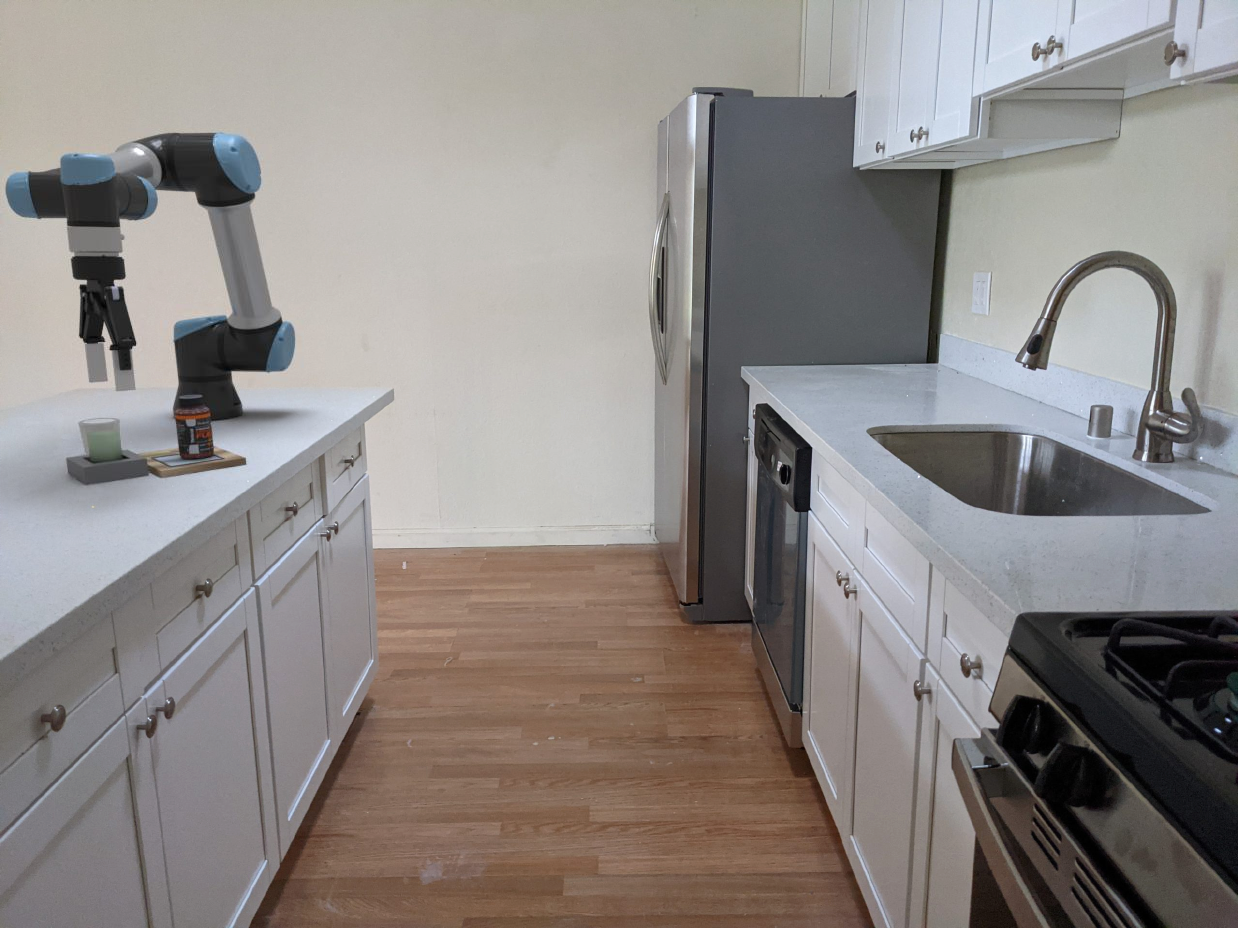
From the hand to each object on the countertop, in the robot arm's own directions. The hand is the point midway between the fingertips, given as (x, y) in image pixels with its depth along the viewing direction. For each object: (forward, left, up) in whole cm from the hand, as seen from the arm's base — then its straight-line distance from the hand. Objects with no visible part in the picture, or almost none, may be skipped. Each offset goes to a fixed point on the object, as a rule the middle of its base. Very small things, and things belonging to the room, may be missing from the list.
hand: (111, 386), depth 153 cm
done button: (-8, 0, -14) cm, 16 cm away
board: (-8, +14, -17) cm, 23 cm away
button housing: (-8, 0, -17) cm, 19 cm away
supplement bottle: (-7, +15, -16) cm, 23 cm away
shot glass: (-24, +4, -17) cm, 30 cm away
